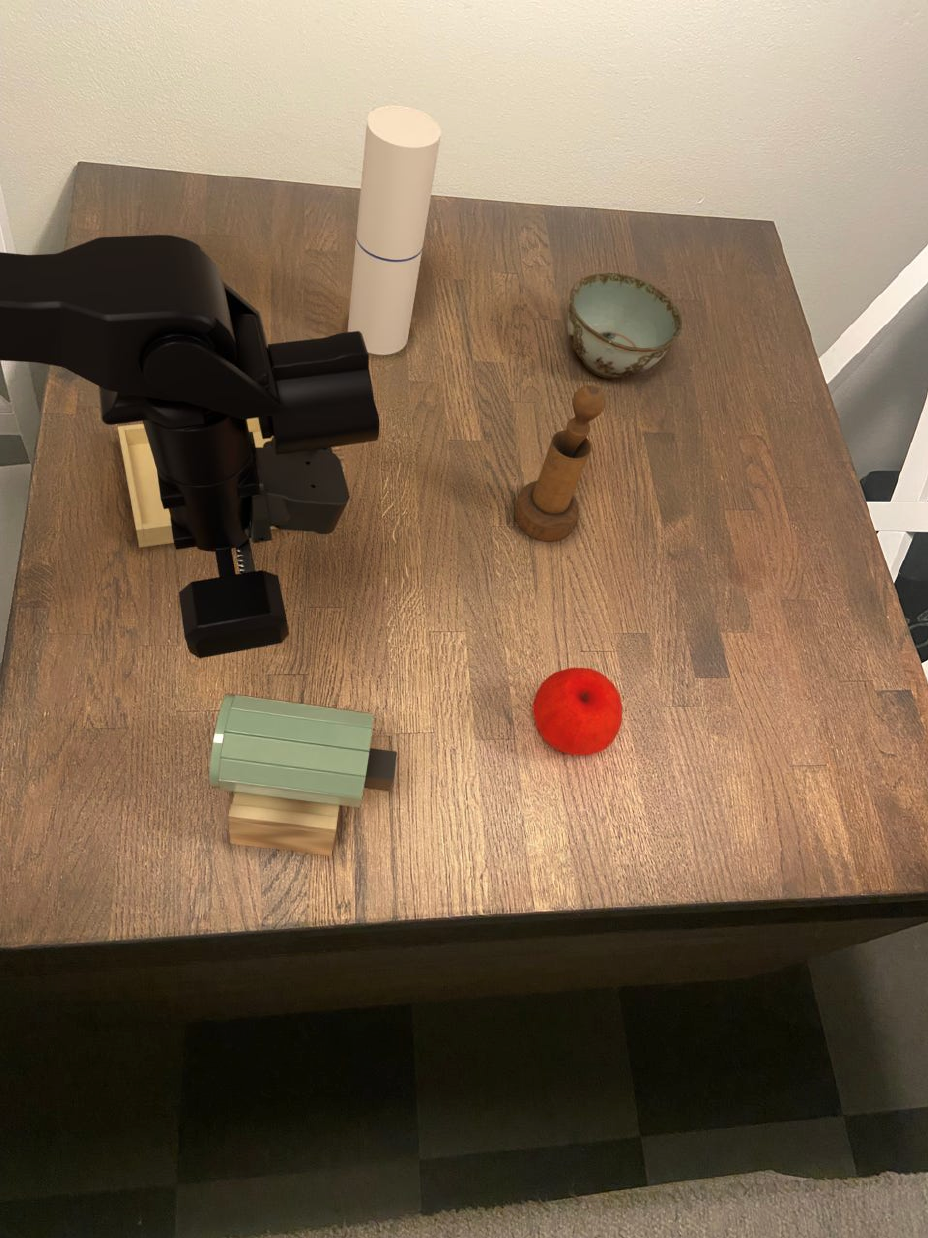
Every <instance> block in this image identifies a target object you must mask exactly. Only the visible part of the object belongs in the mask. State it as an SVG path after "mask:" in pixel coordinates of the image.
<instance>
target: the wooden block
mask: <svg viewBox="0 0 928 1238" xmlns="http://www.w3.org/2000/svg"><path fill="white" fill-rule="evenodd" d="M339 810H340V805H335V804H327V803H319V802H312V801H304V800H296V799H288V798H280V797H273V796H265V795H257V794H249V793H241V792H234V791H233V797H232V801H231V803H230V804H229V809H228V814H227V821H228V822H227V823H228V833H229V842H230V843H229V844H231V845H237V846H238V845H239V846H246V847H247V846H248V847H254V848H263V849H271V850H280V851H287V852H296V853H305V854H312V855H321V856H327V857H328V856H329V857H332V854H333V849H334V843H335V838H336V833H337V832H336V831H337V825H338V817H339Z"/></svg>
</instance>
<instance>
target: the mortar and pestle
mask: <svg viewBox="0 0 928 1238" xmlns="http://www.w3.org/2000/svg"><path fill="white" fill-rule="evenodd" d="M571 405H572V409H573V413H574V417H572V418H570V419H569V420H568V421H567V423H566V427H565V429H564V430H559V431H557V432H556V433H554V434H553V436H552V438H551V440H550V444H549V446H548V450H547V453H546V456H545V458H544V461H543V463H542V467H541V470H540V473H539V474H538V478H537V480H533V481H531V482H529V483H527V484H525V486H524V487H523V488H522V489H521V490H520V492H519V494H518V497H517V501H516V503H515V506H514V511H513V512H514V519H515V521H516V524H517V525H518V527H519V528H520V530H522V532H523V533H525V534H526V535H527V536H529V537H531V538H533V539H535V540H536V541H541V542H548V543H550V542H558V541H561V540H563V539H565V538H566V537H568V536H569V535H570V533H571V532H572V531H573V528H574V526H575V524H576V522H577V520H578V516H579V513H580V512H579V511H580V508H579V502H578V500H577V499H576V496H575V495H574V493H575V491H576V488H577V486H578V484H579V481H580V478H581V477H582V474H583V472H584V469H585V466H586V464H587V462H588V459H589V458H590V455H591V453H592V449H593V448H592V443H591V441H590V440H589V438H587V437H588V436H589V434H590V432H591V426H590V424H589V423H590V422H591V421H593V420H595V419H596V418H598V417H599V416H600V415H602V413H603V412H604V410H605V408H606V395H605V393H604V391H603V390H602V389H601V388H600V387H598V386H596V385H594V384H586V385H582V386H581V387H579V388H578V389H577V390H576V391H575V392H574V395H573V397H572V403H571Z"/></svg>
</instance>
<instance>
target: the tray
mask: <svg viewBox="0 0 928 1238" xmlns="http://www.w3.org/2000/svg"><path fill="white" fill-rule="evenodd" d="M247 424H248V429H249V432H253V436H254V441H255V446H256V447H263V445H264V443H266V442H268V441H271V440H272V438H268V439H263V438H262V434H261V430H260V425H259V420H258V418H252V419H247ZM117 431H118V437H119V443H120V449H121V454H122V459H123V465H124V471H125V476H126V481H127V487H128V493H129V498H130V504H131V510H132V516H133V521H134V527H135V532H136V537H137V543H138V548H147V547H153V546H161V545H168V544H174V541H173V534H172V527H171V519H170V517H171V516H170V512H169V509H164V508H163V505H162V502H161V498H160V490H159V483H158V475H157V469H156V465H155V462H154V458H153V455H152V451H151V448H150V445H149V441H148V438H147V435H146V431H145V428H144V424H143V423H137V424H128V425H127V424H126V425H118V426H117ZM272 437H273V436H272ZM270 528H271V530H277V529H278V528H275V527H274V526H270ZM278 530H279V529H278Z"/></svg>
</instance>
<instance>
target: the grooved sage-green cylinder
mask: <svg viewBox="0 0 928 1238" xmlns="http://www.w3.org/2000/svg"><path fill="white" fill-rule="evenodd" d="M374 719H375V714H374V713H373V712H368V711H360V710H354V709H347V708H339V707H331V706H324V705H318V704H311V703H304V702H296V701H289V700H283V699H275V698H270V697H269V698H267V697H261V696H255V695H247V694H240V693H239V694H236V693H229V692H228V693H225V695H224V697H223V699H222V701H221V704H220V707H219V712H218V715H217V718H216V723H215V728H214V733H213V738H212V743H211V744H212V745H211V751H210V759H209V767H208V768H209V769H208V783H209V787H210V788H213V789H218V790H220V791H225V792H226V791H227V792H233V793H234V792H241V793H249V794H257V795H265V796H273V797H280V798H288V799H296V800H304V801H312V802H319V803H327V804H335V805H339V806H344V807H352V808H360V807H361V804H362V801H363V795H364V784H365V778H366V772H367V765H368V758H369V751H370V748H371V744H372V735H373V728H374Z"/></svg>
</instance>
